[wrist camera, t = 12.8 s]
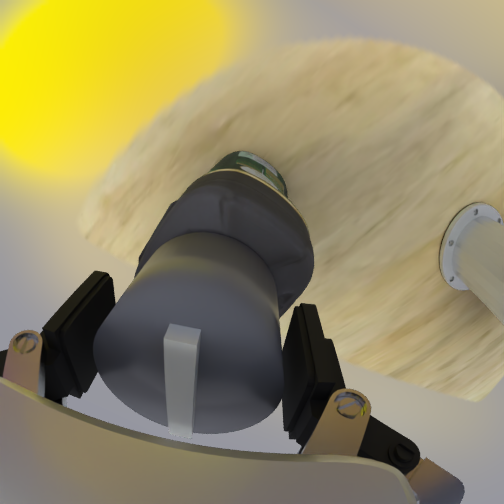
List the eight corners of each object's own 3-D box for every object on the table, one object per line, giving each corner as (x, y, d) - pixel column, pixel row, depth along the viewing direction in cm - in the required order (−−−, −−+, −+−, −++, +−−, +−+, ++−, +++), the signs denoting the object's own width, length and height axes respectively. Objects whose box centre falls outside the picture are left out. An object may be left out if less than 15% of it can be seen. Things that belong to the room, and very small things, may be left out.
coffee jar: (243, 253, 32) (227, 389, 15) (183, 212, 30) (101, 317, 13) (299, 184, 29) (355, 268, 12) (236, 137, 27) (196, 149, 10)
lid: (143, 221, 11) (67, 294, 6) (291, 246, 11) (314, 343, 6) (144, 334, 13) (104, 422, 8) (262, 356, 14) (261, 454, 9)
